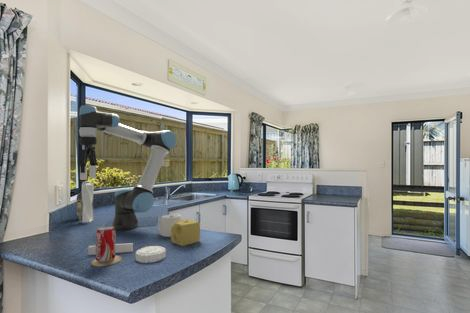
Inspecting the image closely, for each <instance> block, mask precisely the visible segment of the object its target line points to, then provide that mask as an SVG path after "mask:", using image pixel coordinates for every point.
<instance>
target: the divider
mask: <svg viewBox="0 0 470 313" xmlns="http://www.w3.org/2000/svg"><path fill="white" fill-rule="evenodd" d="M133 252H134V243H133V242H129V243H128V242H127V243H115V254H118V253H121V254H122V253H133ZM92 255H95V256H96V245H89V246H88V256H92Z"/></svg>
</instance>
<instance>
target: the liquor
mask: <svg viewBox="0 0 470 313" xmlns="http://www.w3.org/2000/svg"><path fill="white" fill-rule="evenodd" d="M81 181H82V182H81V183H82V184H83V185H85V183H89V177H88V176H87V180H81ZM85 181H88V182H85ZM83 182H85V183H83ZM82 184H81V185H82ZM79 207H81V218H82V213H83V201H82V190H80V192H79V193H78V194H77V196H76V219H77V220H78V219H79ZM92 208H93V209H94V199H93V200H92Z"/></svg>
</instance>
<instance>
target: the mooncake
mask: <svg viewBox="0 0 470 313" xmlns="http://www.w3.org/2000/svg"><path fill="white" fill-rule="evenodd" d="M166 256H167V249H166V248H165V247H163V246H161V245H160V246H159V245H148V246H143V247H142V248H139V249H138V250H136V252H135V261H136V262H138V263H143V264H144V263H145V264H147V263H157V262H158V261H161V260H164V259H165V258H166Z"/></svg>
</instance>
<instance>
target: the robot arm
mask: <svg viewBox="0 0 470 313" xmlns="http://www.w3.org/2000/svg"><path fill="white" fill-rule="evenodd" d="M97 109H98V108H97V107H96V106H94V105H85V104H84V105H81V106H79V113H78V114H79V130H78V132H79V136H80V137H79V144H80V151H79V156H78V161H77V162H78V163H77V167H79V180H80V181H82V180H87V177H88V172H87V171H88V166H87V162H88V161H89V179H97V177H96V176H97V175H96V173H97V172H96V171H97V170H96V169H97V168H96V166H98V160H97V154H96V146H95V145H98V144H97V133H98V131H99V132H102V133H106V134H109V135H113V136H115V137H120V138H123V139H124V140H129V141H132V142H135V143H137V144H138V145H140V146H143V147H145V148H149V149H151V153H150V155H149V158H148V160H147V162H146V165H145V168H144V170H143V172H142V175H141V177H140V179H139V182H138V184H136V185H134V187H133V188H129V189H128V188H127V189H120V190H119V189H118V190H116V191H115V192H114V207H115V208H114V212H115V213H114V218H113V221H112V225H111V226H113V227H114V229H115V231H116V230H117V231H123V230H125V231H126V230H133V229H135V228H138V227H139V220H138V218H137V214H136V213H140V214H141V213H146V212H149V211H150V210H151V209H152V208H153V206H154V204H155V200H154V198H155V197H154V190H153V188H154V186H155V182H156V180H157V178H158V175H159V173H160V170H161V167H162V165H163V162H164V160H165V157H166V155H169V153H170V150H171V149H173V148H175V147H176V145H177V136H176V135H175V133H174V132H173V131H171V130H170V129H169V130H167V129H166V130H158V131H146V130H138V129H136V128H133V127H130V126H127V125H124V124H122V123H120V116H119V115H118V114H116V113H113V112H112V113H110V112H105V111H104V112H103V111H98V110H97ZM93 145H94V146H93Z"/></svg>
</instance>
